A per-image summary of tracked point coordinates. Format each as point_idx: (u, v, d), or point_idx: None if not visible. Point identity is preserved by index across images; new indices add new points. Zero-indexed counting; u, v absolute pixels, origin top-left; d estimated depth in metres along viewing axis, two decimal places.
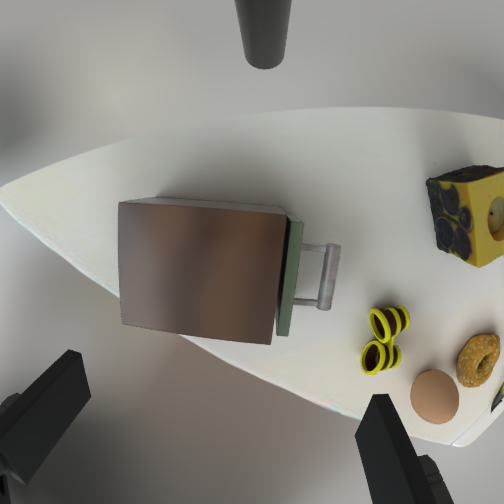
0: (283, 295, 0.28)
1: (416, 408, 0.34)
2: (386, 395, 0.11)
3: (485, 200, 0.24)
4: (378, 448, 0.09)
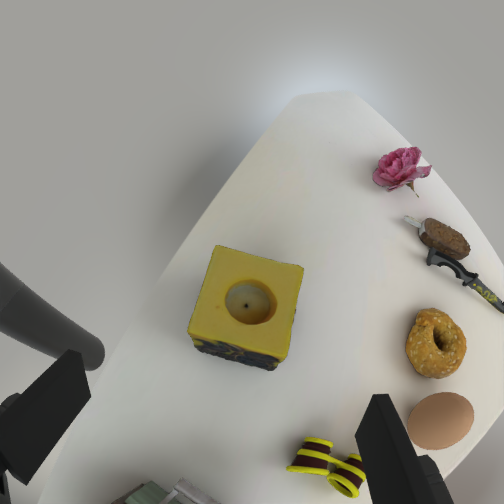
0: None
1: (438, 449, 0.23)
2: (386, 395, 0.11)
3: (217, 314, 0.28)
4: (378, 448, 0.09)
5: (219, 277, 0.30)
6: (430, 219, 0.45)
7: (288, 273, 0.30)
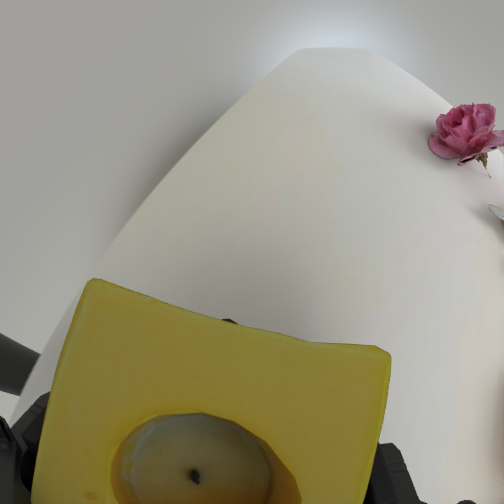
0: None
1: None
2: None
3: None
4: None
5: (91, 397, 0.07)
6: None
7: (342, 382, 0.07)
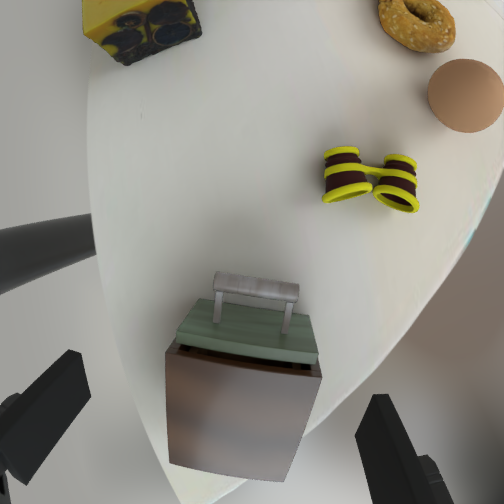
0: (261, 357, 0.23)
1: (480, 129, 0.20)
2: (386, 395, 0.11)
3: (102, 6, 0.17)
4: (378, 448, 0.09)
5: None
6: None
7: None
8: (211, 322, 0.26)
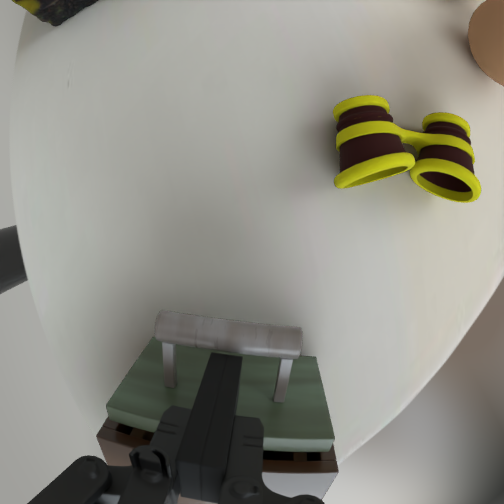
0: None
1: None
2: (240, 357, 0.13)
3: None
4: None
5: None
6: None
7: None
8: (163, 385, 0.15)
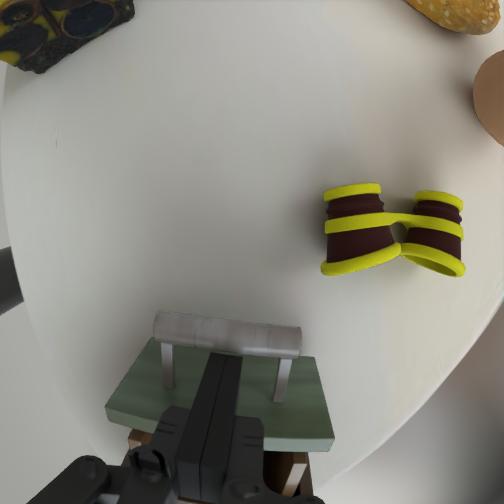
0: None
1: None
2: (240, 357, 0.13)
3: None
4: None
5: None
6: None
7: None
8: (162, 385, 0.15)
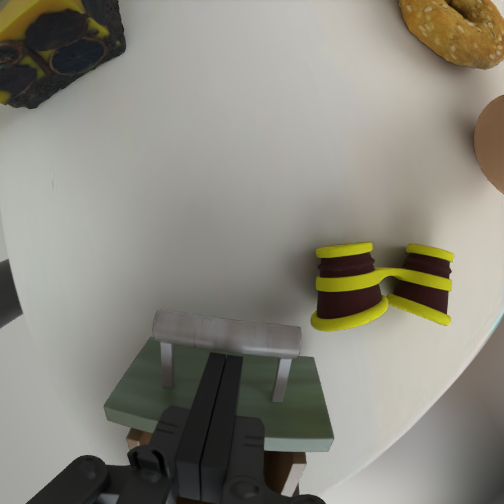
0: None
1: None
2: (240, 357, 0.13)
3: None
4: None
5: None
6: None
7: None
8: (161, 385, 0.15)
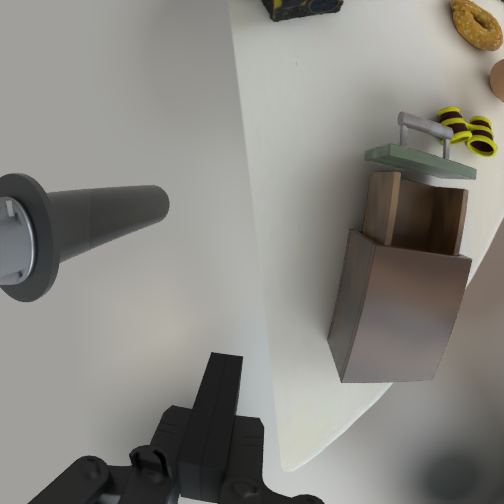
0: (447, 169, 0.25)
1: None
2: (240, 357, 0.13)
3: None
4: None
5: None
6: None
7: None
8: None
